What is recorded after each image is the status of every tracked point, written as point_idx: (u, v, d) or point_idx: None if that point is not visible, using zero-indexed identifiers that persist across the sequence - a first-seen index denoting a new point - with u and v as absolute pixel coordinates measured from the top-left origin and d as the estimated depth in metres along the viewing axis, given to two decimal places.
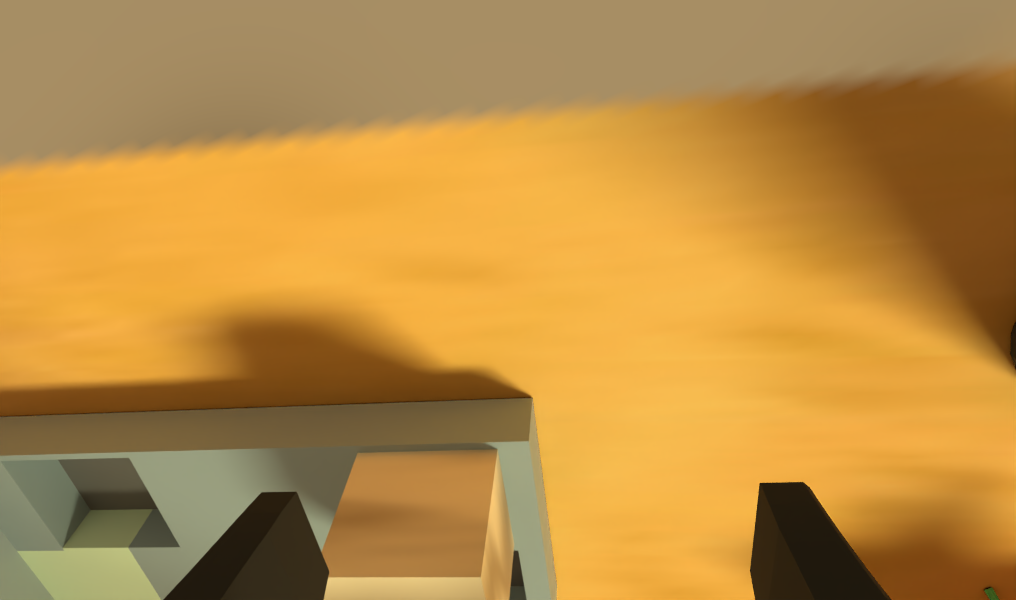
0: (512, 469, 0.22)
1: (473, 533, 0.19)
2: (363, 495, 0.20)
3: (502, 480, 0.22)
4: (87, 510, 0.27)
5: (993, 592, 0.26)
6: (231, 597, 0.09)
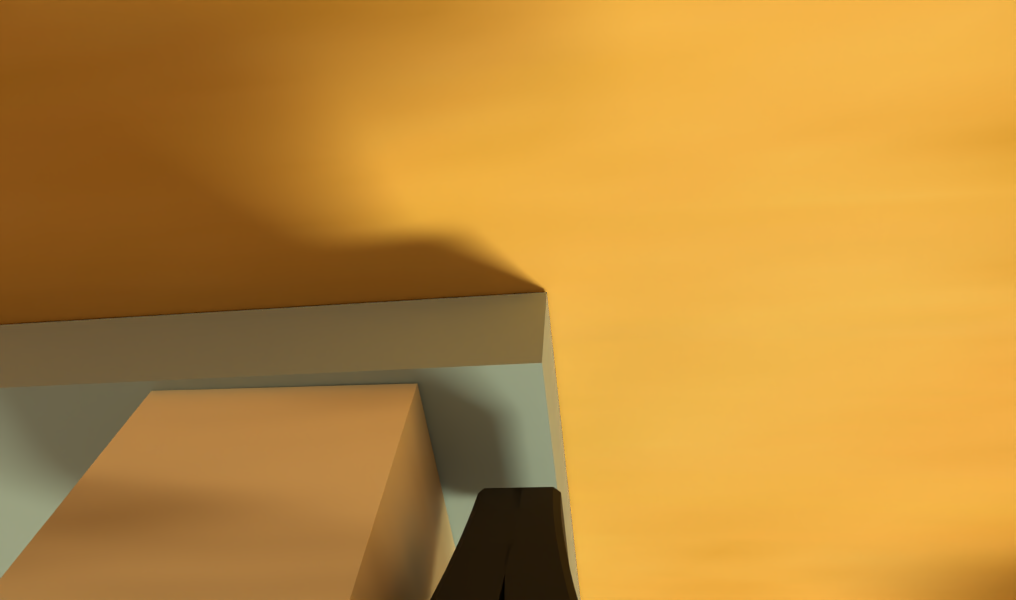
0: (509, 423, 0.11)
1: (334, 554, 0.08)
2: (128, 470, 0.10)
3: (430, 447, 0.11)
4: None
5: None
6: (502, 598, 0.09)
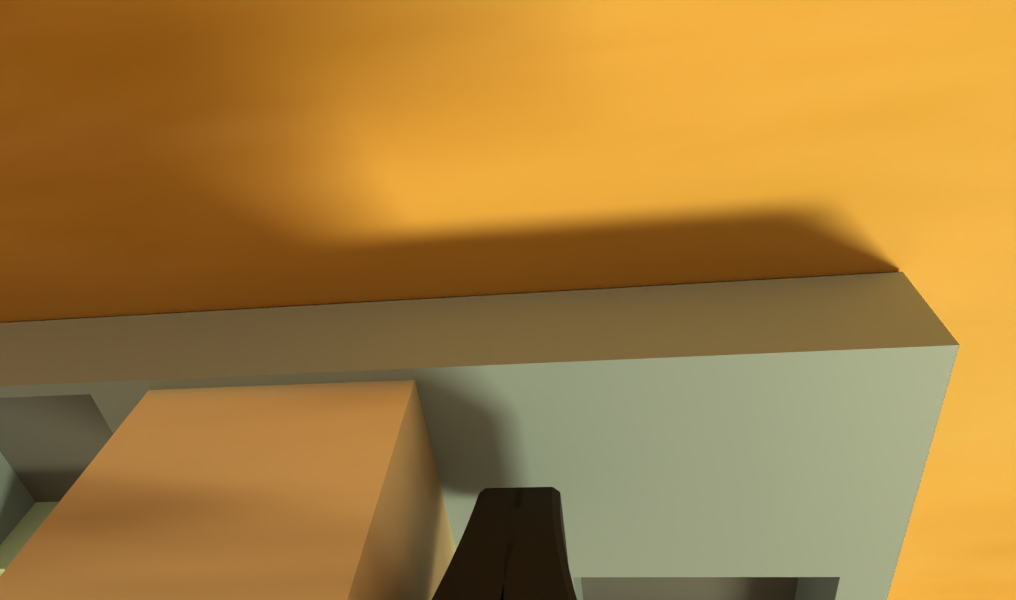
0: (895, 411, 0.10)
1: (332, 551, 0.08)
2: (127, 469, 0.10)
3: (428, 444, 0.11)
4: (29, 502, 0.16)
5: None
6: (503, 598, 0.09)
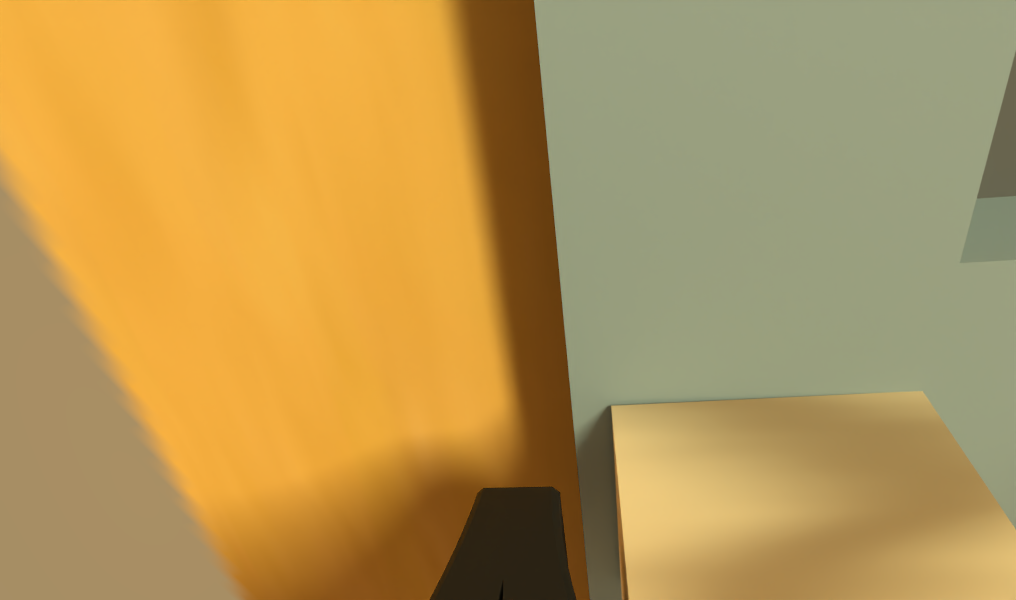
0: None
1: None
2: None
3: (698, 405, 0.10)
4: None
5: None
6: (501, 598, 0.09)
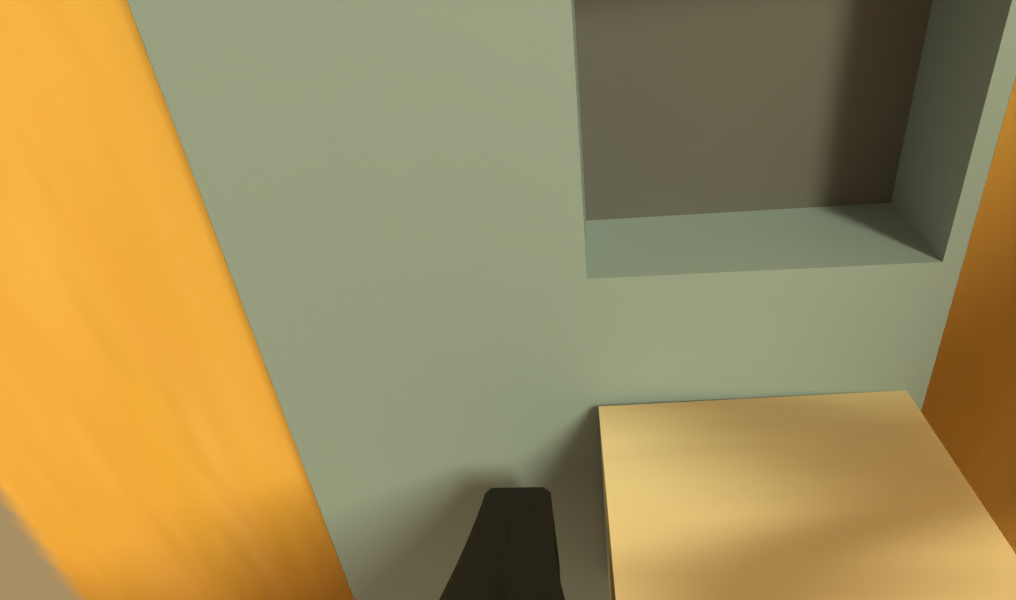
0: None
1: None
2: None
3: (685, 405, 0.10)
4: None
5: None
6: None
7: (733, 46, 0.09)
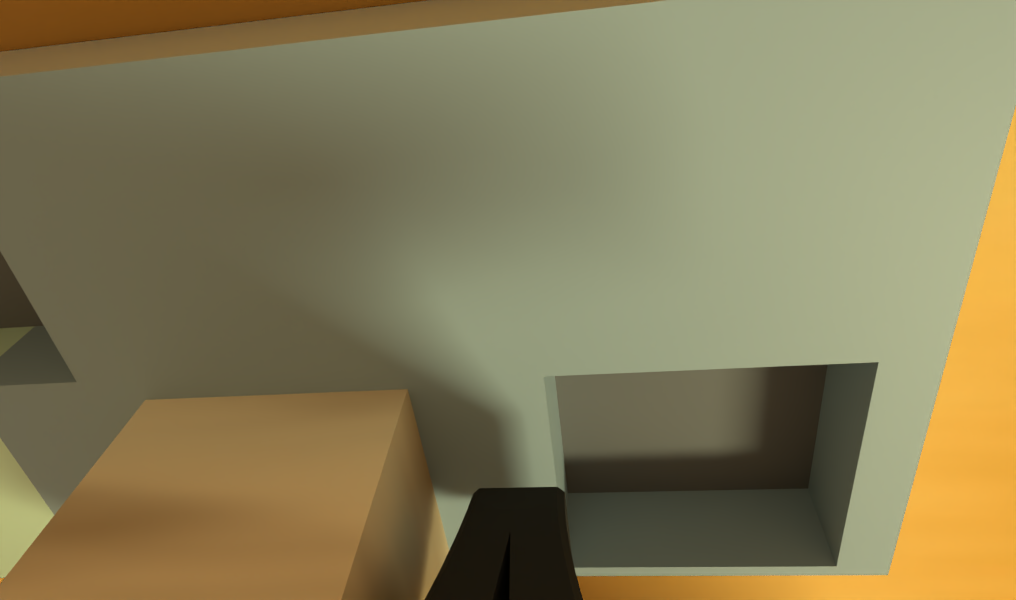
0: (962, 81, 0.08)
1: (324, 560, 0.08)
2: (123, 479, 0.10)
3: (422, 452, 0.11)
4: None
5: None
6: (496, 598, 0.09)
7: (693, 398, 0.13)
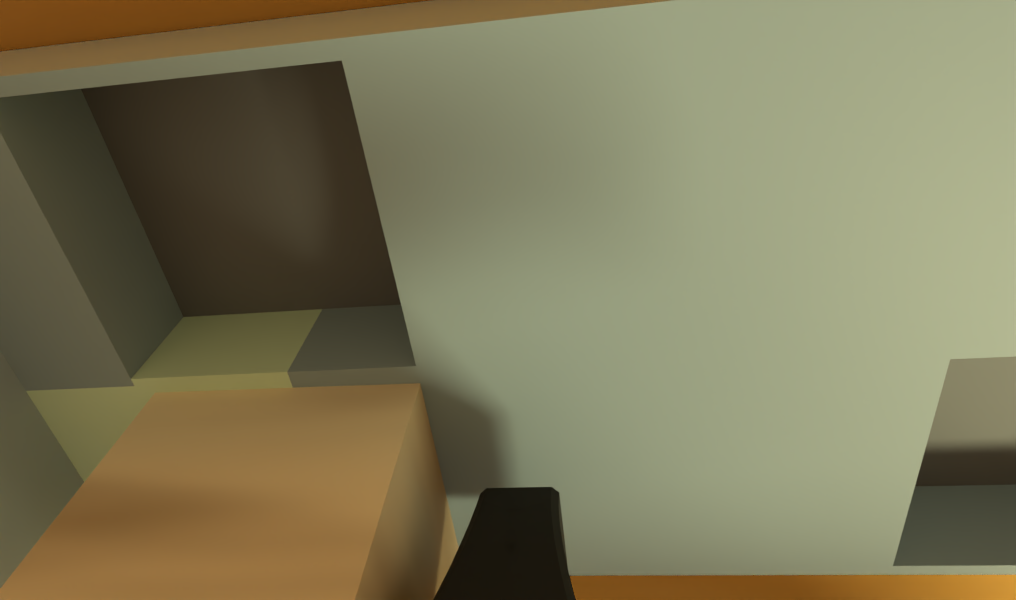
0: None
1: (339, 553, 0.08)
2: (134, 471, 0.10)
3: (433, 447, 0.11)
4: (177, 315, 0.13)
5: None
6: None
7: None
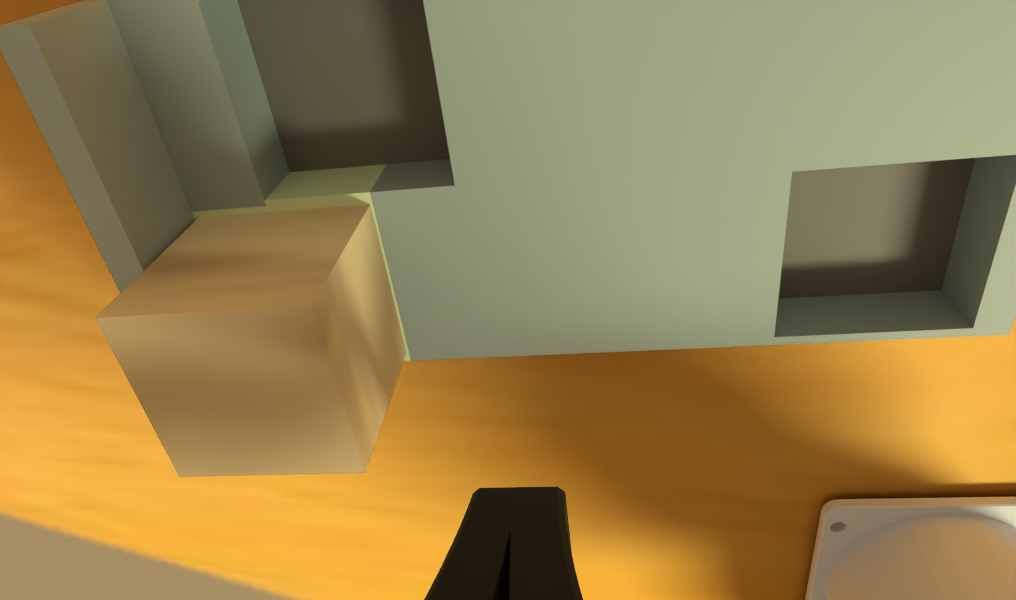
0: None
1: (315, 270, 0.14)
2: (190, 249, 0.16)
3: (381, 252, 0.17)
4: (286, 169, 0.18)
5: None
6: (496, 598, 0.09)
7: (867, 214, 0.18)
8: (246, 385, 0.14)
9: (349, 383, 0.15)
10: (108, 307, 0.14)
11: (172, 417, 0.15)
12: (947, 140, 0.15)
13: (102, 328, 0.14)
